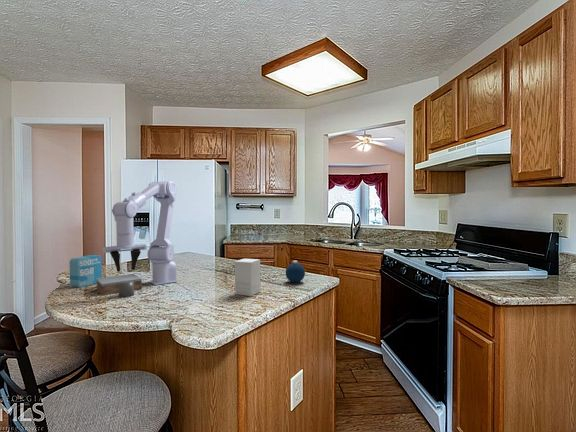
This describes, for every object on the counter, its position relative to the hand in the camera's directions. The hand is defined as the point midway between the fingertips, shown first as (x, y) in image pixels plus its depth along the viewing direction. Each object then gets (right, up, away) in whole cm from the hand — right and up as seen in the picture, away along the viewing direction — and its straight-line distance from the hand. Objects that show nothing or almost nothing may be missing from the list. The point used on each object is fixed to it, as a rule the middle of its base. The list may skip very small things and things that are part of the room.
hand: (125, 270), depth 126 cm
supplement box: (+45, -9, +3) cm, 46 cm away
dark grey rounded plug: (0, -10, 0) cm, 10 cm away
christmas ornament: (+64, -9, +20) cm, 67 cm away
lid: (-7, -6, +10) cm, 13 cm away
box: (-7, -9, +10) cm, 15 cm away
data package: (-26, -9, +18) cm, 33 cm away
